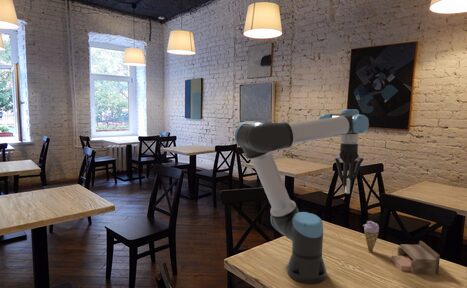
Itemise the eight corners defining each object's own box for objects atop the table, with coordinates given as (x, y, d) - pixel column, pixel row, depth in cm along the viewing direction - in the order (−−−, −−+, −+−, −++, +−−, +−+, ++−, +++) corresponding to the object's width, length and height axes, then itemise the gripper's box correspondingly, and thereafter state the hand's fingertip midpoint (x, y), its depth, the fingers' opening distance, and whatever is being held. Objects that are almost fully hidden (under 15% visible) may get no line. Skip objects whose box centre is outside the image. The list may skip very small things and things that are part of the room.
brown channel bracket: (412, 273, 122) (413, 254, 121) (397, 257, 135) (398, 240, 134) (438, 274, 121) (439, 255, 120) (421, 258, 134) (422, 241, 134)
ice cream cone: (359, 251, 142) (361, 220, 140) (364, 246, 146) (366, 216, 144) (374, 255, 137) (376, 223, 135) (379, 251, 142) (381, 219, 140)
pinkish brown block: (400, 271, 124) (401, 265, 124) (391, 260, 133) (391, 255, 133) (431, 272, 123) (432, 267, 123) (420, 262, 132) (420, 256, 132)
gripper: (336, 143, 138) (334, 194, 140) (366, 143, 136) (364, 195, 139) (332, 142, 145) (331, 190, 148) (361, 142, 144) (359, 191, 147)
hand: (347, 192), depth 143 cm, fingers closed
